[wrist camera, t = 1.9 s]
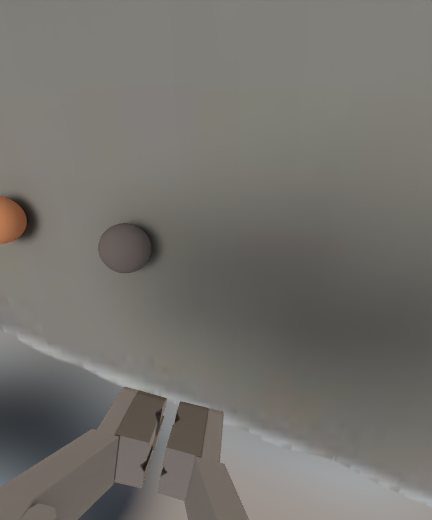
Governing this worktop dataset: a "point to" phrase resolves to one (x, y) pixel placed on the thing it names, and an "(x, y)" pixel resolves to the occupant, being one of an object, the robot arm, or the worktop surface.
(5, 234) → the object ball
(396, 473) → the worktop surface
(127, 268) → the dark gray ball
